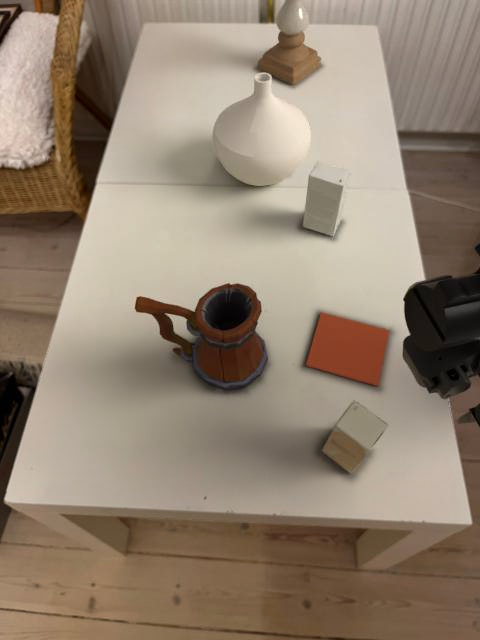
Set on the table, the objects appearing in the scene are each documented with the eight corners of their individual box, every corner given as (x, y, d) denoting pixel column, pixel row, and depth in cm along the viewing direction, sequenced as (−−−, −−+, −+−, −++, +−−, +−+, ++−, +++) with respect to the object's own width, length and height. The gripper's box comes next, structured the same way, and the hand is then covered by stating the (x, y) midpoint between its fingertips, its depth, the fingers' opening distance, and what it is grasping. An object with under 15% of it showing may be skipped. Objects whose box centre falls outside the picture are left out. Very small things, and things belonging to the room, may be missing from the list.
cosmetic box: (340, 221, 90) (352, 169, 80) (333, 237, 88) (344, 186, 78) (309, 211, 91) (317, 159, 81) (301, 227, 89) (308, 175, 79)
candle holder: (321, 65, 116) (336, -53, 96) (293, 85, 112) (302, -33, 92) (285, 48, 120) (292, -68, 100) (256, 68, 116) (258, -50, 96)
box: (320, 450, 67) (332, 422, 58) (338, 427, 69) (352, 396, 59) (352, 476, 65) (370, 451, 56) (370, 451, 67) (390, 423, 58)
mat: (388, 331, 77) (389, 330, 77) (377, 386, 72) (378, 385, 72) (320, 313, 79) (321, 312, 79) (305, 366, 74) (305, 364, 74)
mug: (144, 384, 73) (121, 334, 60) (159, 319, 79) (142, 261, 66) (263, 396, 72) (267, 347, 59) (270, 329, 78) (274, 272, 65)
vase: (321, 186, 95) (337, 96, 78) (232, 211, 91) (229, 122, 75) (285, 130, 104) (291, 38, 88) (203, 151, 101) (194, 60, 84)
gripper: (384, 257, 48) (346, 339, 61) (493, 429, 39) (420, 482, 52) (478, 236, 51) (422, 318, 64) (601, 393, 42) (506, 452, 55)
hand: (439, 386), depth 59 cm, fingers open, 9 cm apart
